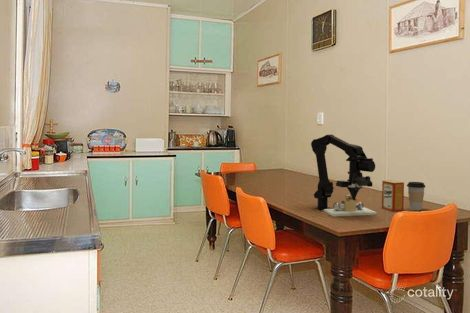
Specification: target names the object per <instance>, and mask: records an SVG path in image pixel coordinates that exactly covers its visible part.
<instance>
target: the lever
mask: <svg viewBox="0 0 470 313" xmlns="http://www.w3.org/2000/svg"><path fill="white" fill-rule="evenodd" d="M344 198H345V199H351V200H352V201H355V202H356V203H357V202H362V201H361V198H360V197H357V196H356V197H355V200H353V199H352V196H351V194H350V193H349V194H348V193H347V194H345V196H344Z"/></svg>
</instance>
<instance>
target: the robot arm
mask: <svg viewBox="0 0 470 313" xmlns="http://www.w3.org/2000/svg"><path fill="white" fill-rule="evenodd" d="M330 144H331V145H332V146H335V147H336V148H338V149H340V150H342V151H343V152H344V153H345V154H346V155H347V156H348V157H347V159H345V161H346V162H349V165H348V166H349V168H348V171H347V175H348V179H347V180H337V181H336V183H335V187H340V188H346V189H348V190H347V191H348V192H349V194H350V195H351V196H352V199H353V200H355V197H357V195H358V192H359V191H360V190H361V189H363V187H368V188H369V187H371V188H372V187H373V182H372V180H371V176H369V175H367V176H364V175H363V172H368V173H374V171H375V170H376V163H375V161H374V158H373V157H371V158H369V157H367V155H366V153H365V151H364V150H363V147H362V146H360V145H357V144H352V143H349V142H347V141H345V140H343V139H341V138H339V137H337V136H335V134H325V135H324V136H322V137H318V138H316V139H312V141H311V142H310V145H311V150H312V152H313V153H314V155H315V160H316V164H317V175H318V178H319V179H318V180H319V181H318V184H317V190H316V191H315V192H314V194H313V196H314V198H315V199H317V205H316V206H315V208H316V209H317V210H324V209H331V208H330V207H328V204H329V203H328V199H329V198H331V197H332V194H333V192H334V189H335V188H334V183H333V181H330V179H329V175H328V166H327V161H326V160H327V159H326V155H325V154H326V152H327V149H328V148H327V146H329V145H330Z"/></svg>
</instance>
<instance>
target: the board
mask: <svg viewBox="0 0 470 313" xmlns="http://www.w3.org/2000/svg"><path fill="white" fill-rule="evenodd" d="M323 212H324V213H326V214H328V215H330V216H332V217H333V218H334V217H335V218H336V217H350V216H373V215H377V211H374V210H372V209H370V208H367V207H365V206H364V207H363V208H362V209H361V210H358V208H357V209H356V211H343V210H341V209H339V211H336V210H335V209H334V208H330V209H323Z"/></svg>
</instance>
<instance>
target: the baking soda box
mask: <svg viewBox="0 0 470 313" xmlns="http://www.w3.org/2000/svg"><path fill="white" fill-rule="evenodd" d="M381 183H382V186H381V187H382V190H381V193H382V194H381V209H384V210H387V211H391V212H403V211H404V198H405V196H404V195H405V181H404V182H403V181H401V180H400V181H399V180H392V179H391V180H389V179H388V180H382V182H381Z"/></svg>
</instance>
